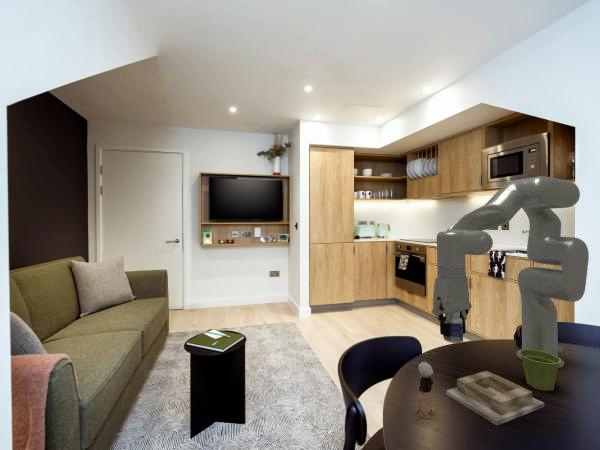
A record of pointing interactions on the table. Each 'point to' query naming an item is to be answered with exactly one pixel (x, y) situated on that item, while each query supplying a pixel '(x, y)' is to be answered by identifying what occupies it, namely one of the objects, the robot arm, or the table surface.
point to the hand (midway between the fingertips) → (452, 333)
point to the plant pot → (540, 368)
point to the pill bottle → (455, 328)
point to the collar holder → (494, 397)
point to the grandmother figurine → (425, 391)
